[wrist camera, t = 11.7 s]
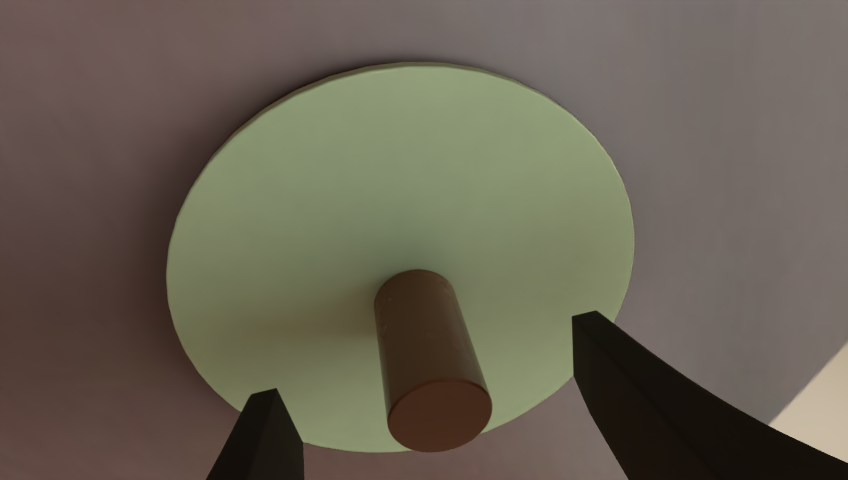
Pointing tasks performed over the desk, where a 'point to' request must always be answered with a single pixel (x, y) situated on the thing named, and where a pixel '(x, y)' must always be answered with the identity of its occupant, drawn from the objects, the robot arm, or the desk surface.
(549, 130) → the lid
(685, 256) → the desk surface
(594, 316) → the robot arm
